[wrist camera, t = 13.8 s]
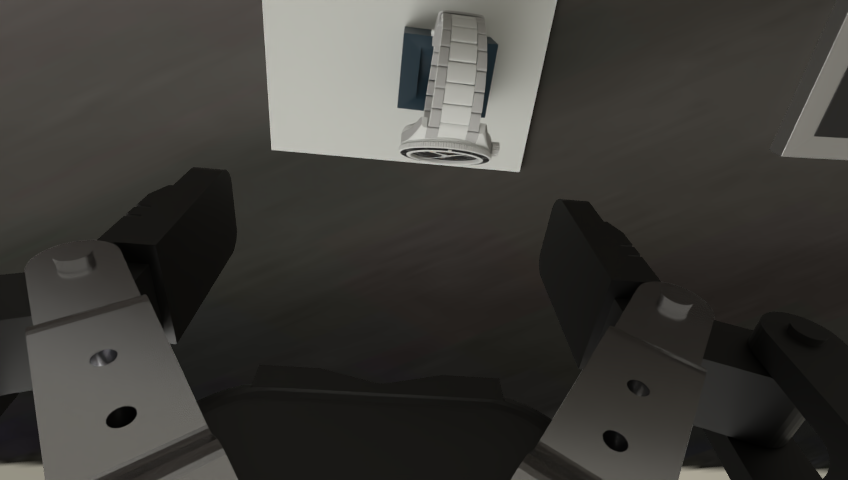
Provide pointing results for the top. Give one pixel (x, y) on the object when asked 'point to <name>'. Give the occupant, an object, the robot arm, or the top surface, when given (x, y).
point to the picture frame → (820, 98)
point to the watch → (448, 90)
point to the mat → (389, 73)
